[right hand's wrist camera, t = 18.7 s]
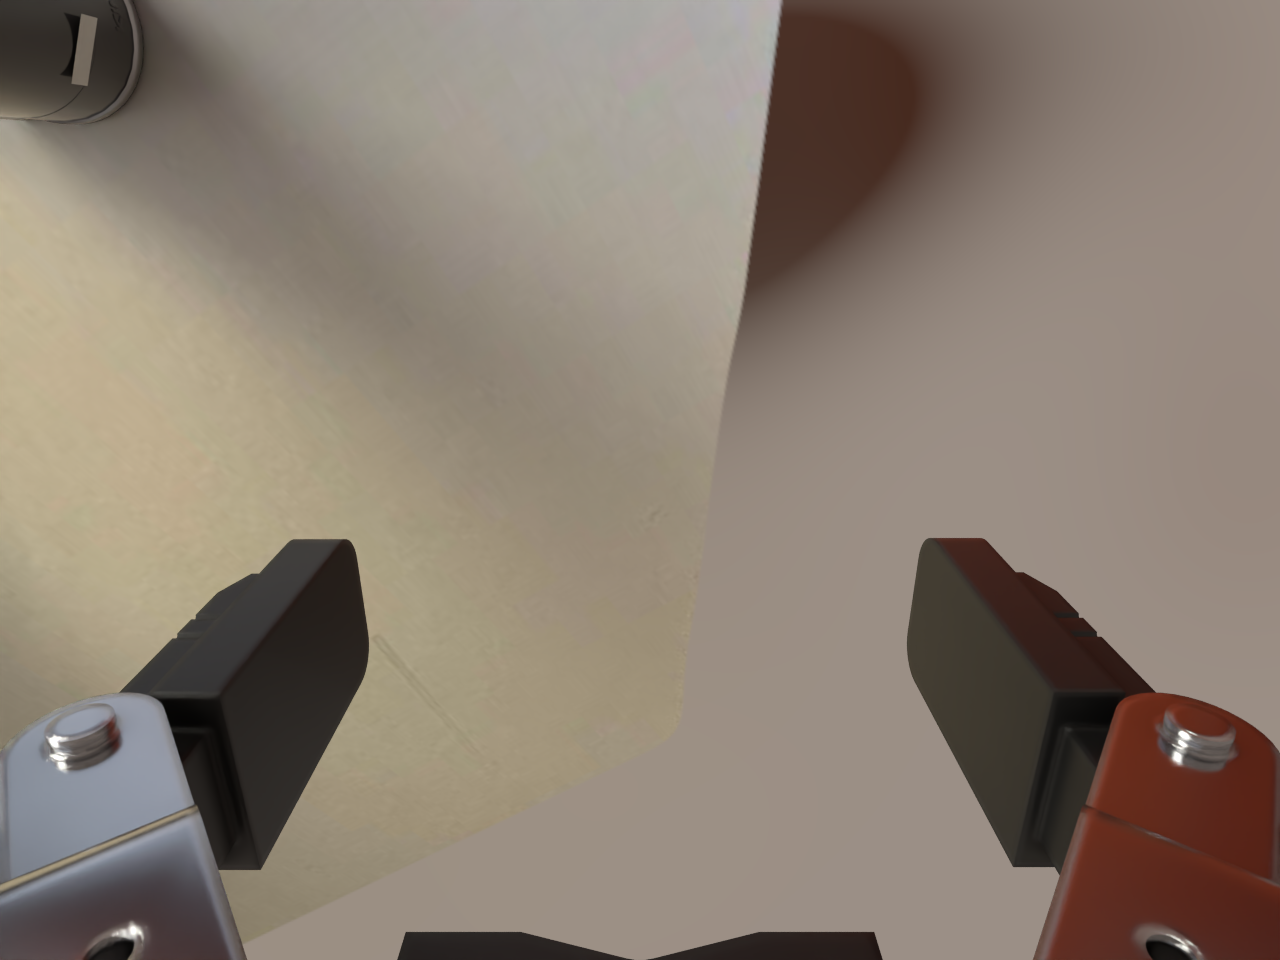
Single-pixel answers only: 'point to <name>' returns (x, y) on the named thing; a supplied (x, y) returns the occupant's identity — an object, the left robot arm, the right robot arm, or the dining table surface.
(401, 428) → the dining table surface
